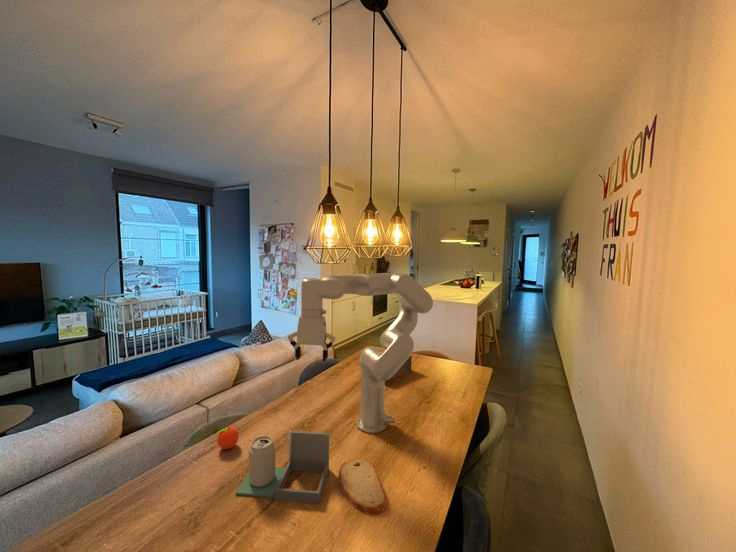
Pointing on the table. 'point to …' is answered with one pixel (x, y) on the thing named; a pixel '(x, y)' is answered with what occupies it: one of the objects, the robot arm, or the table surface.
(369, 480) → the slice of bread
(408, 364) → the tissue box cover
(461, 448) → the table surface
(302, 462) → the grey open box
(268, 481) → the can
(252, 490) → the mat
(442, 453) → the table surface
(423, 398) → the table surface
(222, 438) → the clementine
